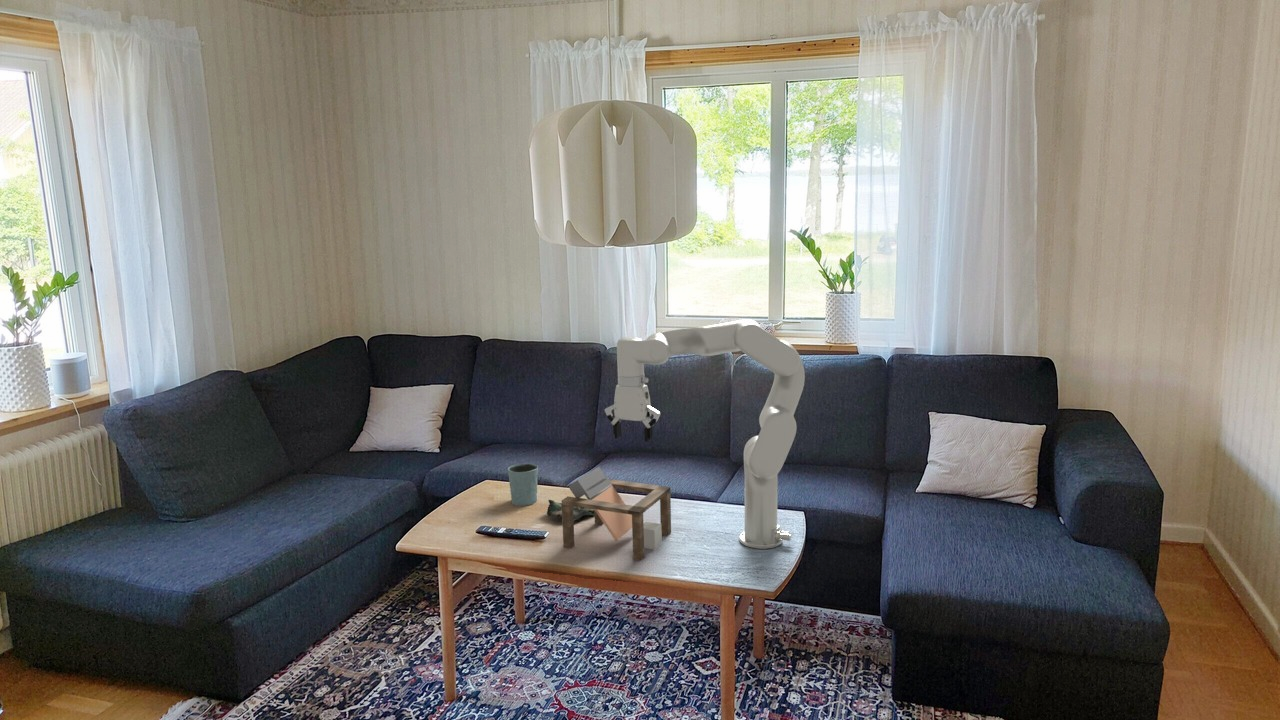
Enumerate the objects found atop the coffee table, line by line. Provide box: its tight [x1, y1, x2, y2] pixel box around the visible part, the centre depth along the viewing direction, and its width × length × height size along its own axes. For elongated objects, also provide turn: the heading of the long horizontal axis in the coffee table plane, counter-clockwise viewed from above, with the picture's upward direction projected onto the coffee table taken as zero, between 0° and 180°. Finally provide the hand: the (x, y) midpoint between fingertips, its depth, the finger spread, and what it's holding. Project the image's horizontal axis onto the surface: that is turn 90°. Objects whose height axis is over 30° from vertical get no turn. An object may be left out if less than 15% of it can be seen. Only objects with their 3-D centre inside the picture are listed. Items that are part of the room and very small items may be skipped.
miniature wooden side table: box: [561, 478, 672, 562], centre depth 250 cm, size 25×22×14 cm
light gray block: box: [643, 521, 663, 550], centre depth 246 cm, size 5×5×6 cm
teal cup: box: [507, 462, 539, 507], centre depth 285 cm, size 10×10×12 cm
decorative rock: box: [546, 499, 595, 522], centre depth 273 cm, size 19×6×15 cm
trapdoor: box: [568, 466, 632, 542], centre depth 251 cm, size 21×14×4 cm
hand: (633, 438), depth 243 cm, fingers open, 9 cm apart
